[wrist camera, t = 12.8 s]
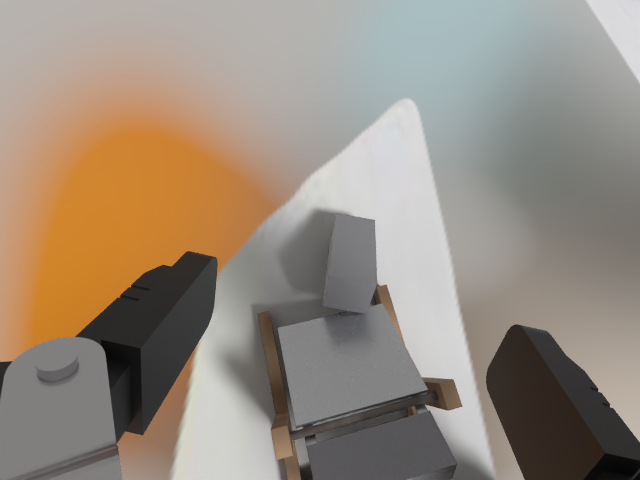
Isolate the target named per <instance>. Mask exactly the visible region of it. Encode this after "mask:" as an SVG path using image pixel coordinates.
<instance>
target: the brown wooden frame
mask: <svg viewBox="0 0 640 480" xmlns="http://www.w3.org/2000/svg"><path fill="white" fill-rule="evenodd" d="M374 297H375V300H376V304H377V305H378V304H383V306H384V307H385V309H386V311H387V313H388V315H389V317H390V319H391V321H392V323H393V324H394V326H395V328H396V330H397V332H398V334H399V336H400V338H401V340H402V341H403V337H402V334H401V331H400V327H399V324H398V321H397V317H396V314H395V311H394V308H393V304H392V301H391V298H390V294H389V291H388V288H387V285H383V286H379V287H376V288H375V291H374ZM258 318H259V324H260V329H261V335H262V340H263V346H264V351H265V357H266V362H267V368H268V373H269V379H270V385H271V390H272V396H273V401H274V407H275V412H276V416H275V419H274V422H273V425H272V428H271V433H272V439H273V444H274V450H275V456H276V460H279V459H282V458H284V462H285V468H286V473H287V479H288V480H302V479H301V474H300V469H299V464H298V458H297V453H296V448H295V443H294V440H296V439H299V438H303V437H306V436H310V435H313V434H317V433H321V432H324V431H328V430H331V429H335V428H338V427H342V426H345V425H349V424H352V423H356V422H359V421H363V420H367V419H370V418H374V417H377V416H381V415H384V414H388V413H391V412H395V411H398V410H402V409H405V408H407V411H408V415H409V416H412V415H416V414H417V413H416V411H415V409H414V407H413V406H416V405H420V404H423V403H424V404H425V405H429V406H433V407H437V408H441V409H444V410H452V409H455V408H459V407H462V404H461V401H460V398H459V395H458V392H457V389H456V386H455V383H454V380H453V379H438V378H423V377H422V379H423V381H424V383H425V385H426V387H427V389H428V392H427V394H425V395H421V396H417V397H414V398H410V399H407V400H403V401H400V402H396V403H392V404H389V405H385V406H382V407H378V408H374V409H371V410H367V411H364V412H360V413H356V414H353V415H349V416H346V417H342V418H339V419H335V420H331V421H328V422H324V423H321V424H317V425H313V426H310V427H306V428H303V429H299V430H296V431H292V427H291V422H290V417H289V411H288V406H287V401H286V396H285V390H284V385H283V380H282V375H281V370H280V364H279V359H278V354H277V349H276V343H275V338H274V333H273V328H272V322H271V317H270V313H269V311H268V312H263V313H259V314H258ZM403 343H404V341H403ZM404 345H405V344H404ZM306 480H313V478H310V479H306Z"/></svg>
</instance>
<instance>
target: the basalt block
mask: <svg viewBox="0 0 640 480" xmlns="http://www.w3.org/2000/svg"><path fill="white" fill-rule="evenodd" d="M376 286H377V268H376V240H375V220H372V219H366V218H360V217H355V216H349V215H343V214H337V213H336V215H335V220H334V225H333V230H332V234H331V239H330V245H329V254H328V262H327V271H326V279H325V288H324V297H323V305H322V307H327V308H333V309H339V310H345V311H351V312H357V313H363V314H366V313H367V311H368V308H369V305H370V302H371V300H372V297H373V294H374V291H375V288H376Z"/></svg>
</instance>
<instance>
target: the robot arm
mask: <svg viewBox="0 0 640 480" xmlns="http://www.w3.org/2000/svg"><path fill="white" fill-rule="evenodd" d="M216 277H217V259H216V257H212V256H208V255H203V254H199V253H194V252H190V251H188V252H186V253H185V254H184V255H183V256H182V257H181V258H180V259H179V260H178V261H177V262H176V263H175V264H174V265H173V266H172V267H170V266H166V265H162V266H159V267H157V268H155V269H152V270H150V271H148V272H146V273H144V274H143V275H142V276H141V277H140V278H138V279H137V280H136V281H135V282H134V283H133V284H132V285H131V288H130V287H129V288H128V289H127V290H126V291H124V292H123V293H122V294H121V296H120V298H117V299H116V300H115V301H113V302H112V303H111V304H110V305H109V306H108V307H107V308H106V309H105V310H104V311H103V312H102V313H100V314H99V315H98V316H97V317H96V318H95V319H94V320H93V321H92V322H91V323H90V324H89V325H87V326H86V327H85V328H84V329H83V330H82V331H81V332H80V333H79V334H78V335H77V336H76V337H65V338H58V339H54V340H50V341H46V342H43V343H41V344H38V345H36V346H34V347H32V348H30V349H28V350H26V351H25V352H23V353H22V354H21V355H19V356H18V357H17V358H16V359H15V360H14V361H11V362H0V480H122V474H121V466H120V458H119V451H118V446H117V445H116V444H117V443H118V441H119V440H120V438H121V437H122V435H123V434H124V432H125V431H126V432H131V433H135V434H140V435H143V434H144V432H145V431H146V429H147V427H148V425H149V424H150V422H151V421H152V419H153V417H154V416H155V414H156V412H157V411H158V409H159V407H160V406H161V404H162V402H163V400H164V399H165V397H166V396H167V394H168V392H169V390H170V389H171V387H172V385H173V384H174V382H175V381H176V379H177V377H178V376H179V374H180V372H181V370H182V369H183V367H184V365H185V364H186V362H187V360H188V359H189V357H190V355H191V354H192V352H193V350H194V349H195V347H196V345H197V344H198V342H199V340H200V339H201V337H202V335H203V334H204V332H205V330H206V329H207V327H208V325H209V322H210V320H211V317H212V313H213V309H214V301H215V289H216ZM486 384H487V390H488V392H489V395H490V397H491V399H492V402H493V404H494V407H495V409H496V411H497V414H498V416H499V419H500V421H501V423H502V426H503V428H504V431H505V433H506V436H507V438H508V440H509V443H510V445H511V447H512V450H513V453H514V455H515V457H516V460H517V462H518V465H519V467H520V469H521V472H522V474H523V477H524V479H525V480H640V442H639V441H638V440H637V438H636V437H635V436H634V435H633V433H632V432H631V431H630V430H629V428H628V427H627V426H626V424H625V423H624V422H623V420H622V419H621V418H620V416H618V414H617V413H616V411H615V410H614V409H613V408H610V404H609V402H608V401H607V400H606V398H605V397H604V396H603V394H602V393H600V392H598V388H597V387H596V385H595V384H594V383H593V382H592V380H591V379H590V378H589V376H588V375H587V374H586V373H585V371H584V370H583V369H581V368H580V367H579V366H578V365H577V364H576V363H574V362H573V361H572V360H571V359H570V358H568V357H567V356H566V355H565V353H564V352H563V351H562V349H561V348H560V347H559V345H558V344H557V343H556V341H555V340H554V339H553V337H552V336H551V335H550V334H549V333H548V332H547V331H544V330H540V329H536V328H531V327H527V326H522V325H517V324H516V325H513V326H512V327H510V329H509V330H508V331H507V333H506V335H505V337H504V339H503V341H502V343H501V345H500V347H499V348H498V350H497V352H496V354H495V356H494V358H493V360H492V362H491V364H490V365H489V367H488V371H487V376H486Z"/></svg>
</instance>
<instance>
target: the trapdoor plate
mask: <svg viewBox="0 0 640 480" xmlns="http://www.w3.org/2000/svg"><path fill="white" fill-rule="evenodd" d="M278 333H279V338H280V343H281V349H282V354H283V359H284V365H285V370H286V376H287V381H288V386H289V392H290V397H291V402H292V408H293V413H294V418H295V424H296V429H297V430H299V429H303V428H306V427H310V426H313V425H317V424H321V423H324V422H328V421H331V420H335V419H339V418H342V417H346V416H349V415H353V414H356V413H360V412H364V411H367V410H371V409H374V408H378V407H382V406H385V405H389V404H392V403H396V402H400V401H403V400H407V399H410V398H414V397H417V396H421V395H425V394H427V392H428V389H427V387H426V385H425V383H424V381H423V379H422V377H421V375H420V374H419V372H418V370H417V368H416V366H415V364H414V362H413V360H412V358H411V357H410V355H409V353H408V351H407V349H406V347H405V345H404V343H403V341H402V340H401V338H400V336H399V334H398V332H397V330H396V328H395V326H394V324H393V323H392V321H391V319H390V317H389V315H388V313H387V311H386V309H385V307H384V306H383V304H378V305H373V306H369V308H368V311H367V313H366V314H363V313H357V312H351V311H348V312H343V313H339V314H335V315H330V316H326V317H322V318H318V319H313V320H309V321H305V322H300V323H296V324H292V325H288V326H283V327H279V328H278ZM413 407H414V409H415V411H416V413H417V414H416V415H412V416H409V417H405V418H402V419H398V420H395V421H392V422H388V423H385V424H381V425H378V426H374V427H371V428H367V429H364V430H360V431H357V432H353V433H350V434H346V435H343V436H339V437H336V438H332V439H329V440H325V441H322V442H318V443H317V442H316V437H315V434H313V435H310V436H306V437H305V441H306V446H307V450H308V456H309V461H310V466H311V471H312V475H313V480H447V479H450V478H452V476H453V474H454V471H455V468H456V465H457V463H456V461H455V459H454V457H453V455H452V453H451V451H450V449H449V447H448V445H447V443H446V441H445V439H444V437H443V435H442V433H441V431H440V430H439V428H438V426H437V424H436V422H435V420H434V418H433V416H432V414H431V412H430V411H428V410H427V409H426V407H425V405H424V403H423V404H420V405H416V406H413Z"/></svg>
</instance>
